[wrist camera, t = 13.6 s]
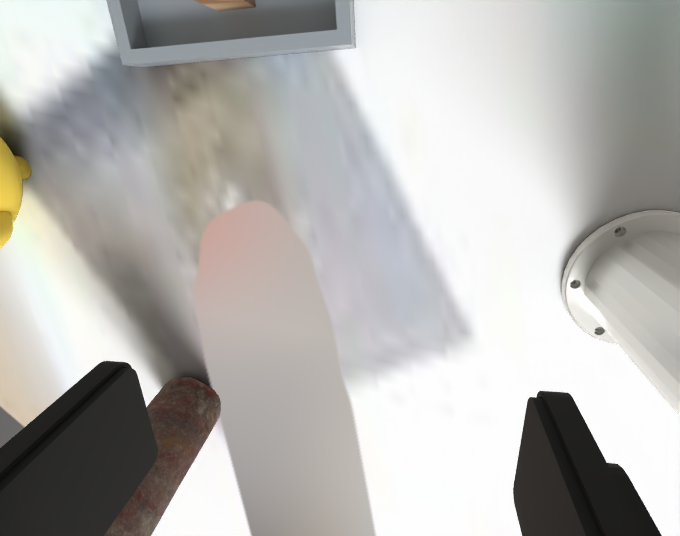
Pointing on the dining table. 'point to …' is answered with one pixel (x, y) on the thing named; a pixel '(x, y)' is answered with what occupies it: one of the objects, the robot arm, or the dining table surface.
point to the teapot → (10, 189)
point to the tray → (227, 30)
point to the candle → (169, 451)
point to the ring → (228, 4)
